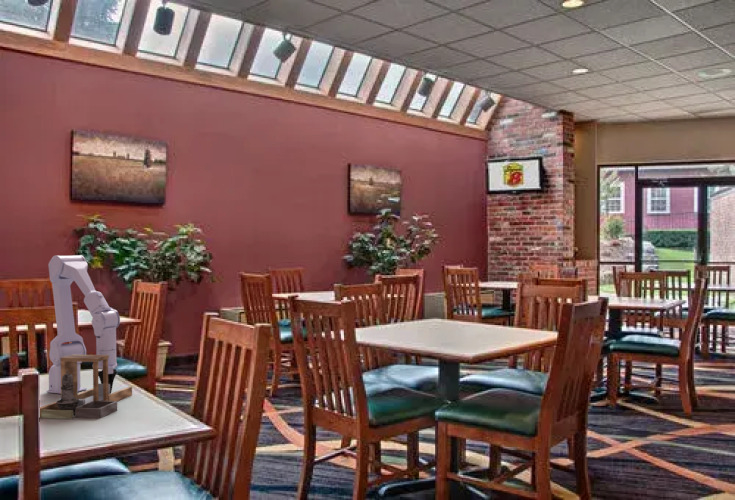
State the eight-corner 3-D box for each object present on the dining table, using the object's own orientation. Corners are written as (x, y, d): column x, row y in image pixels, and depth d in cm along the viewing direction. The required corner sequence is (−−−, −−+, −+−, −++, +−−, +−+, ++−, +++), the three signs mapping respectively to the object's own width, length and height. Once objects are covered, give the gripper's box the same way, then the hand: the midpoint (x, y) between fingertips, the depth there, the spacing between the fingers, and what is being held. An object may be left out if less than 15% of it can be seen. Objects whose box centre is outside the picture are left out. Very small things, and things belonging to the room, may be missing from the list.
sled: (93, 398, 201) (93, 383, 201) (111, 399, 200) (111, 383, 200) (63, 410, 187) (63, 394, 187) (83, 410, 186) (82, 394, 186)
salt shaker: (83, 411, 186) (82, 368, 186) (73, 416, 181) (72, 372, 180) (62, 411, 187) (62, 368, 187) (52, 416, 181) (51, 372, 181)
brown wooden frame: (98, 393, 209) (98, 347, 209) (151, 395, 206) (150, 348, 206) (35, 417, 179) (34, 364, 179) (95, 420, 176) (94, 365, 176)
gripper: (89, 347, 207) (90, 391, 207) (94, 354, 195) (95, 399, 195) (113, 346, 211) (114, 388, 211) (120, 351, 198) (120, 397, 198)
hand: (107, 393), depth 203 cm, fingers closed
